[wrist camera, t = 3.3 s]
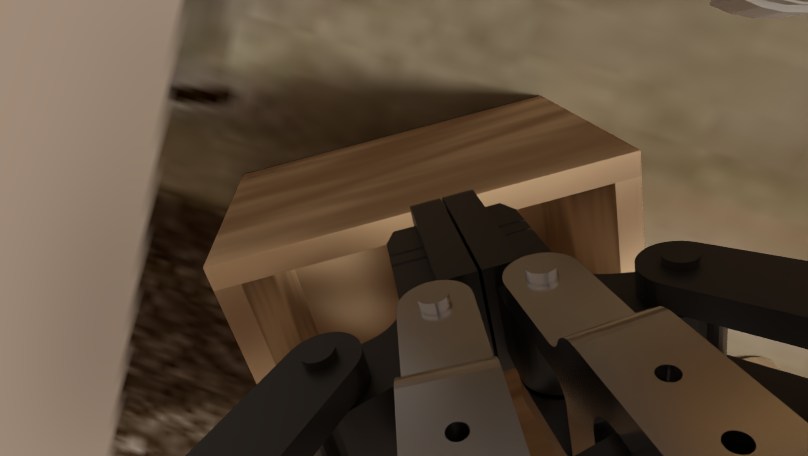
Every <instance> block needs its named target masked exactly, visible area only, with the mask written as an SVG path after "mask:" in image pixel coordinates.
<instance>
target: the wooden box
mask: <svg viewBox="0 0 808 456" xmlns="http://www.w3.org/2000/svg"><path fill="white" fill-rule="evenodd" d="M468 190H474V192H475V193H476V195H477V196H478V198H479V199H480V200H481V202H482V203H483V205H484V206H485V207H487V206H491V205H495V204H498V203H501V204H504V205H506V206H509V207H511V208H514V209H516V210H517V211H518V212H519V214H520V215H521V216H522V217H523V218H524V220H525V221H526V222H527V223H528V224H529V226H530V227H531V229H532V230H534V232H535V233H536V234H537V235H538V236H539V238H540V239H541V240H542V241H543V242H544V244H545V245H546V246H547V247H548V248H549V250H550V251H551V252H553V253H561V254H565V255H568V256H571V257H573V258H575V259H576V260H578V261H579V262H580V263H581V264H582V265H583V266H584V267H586V268H587V269H588V270H589V271H590V272H591V273H592V274H614V273H627V272H635V262H634V261H635V258H636V256H637V255H638V254H639V253H640V252H641V251H642V250H644V224H643V198H642V173H641V150H639V149H637V148H636V147H634V146H632V145H630V144H628V143H626V142H625V141H623V140H621V139H619V138H617V137H615V136H614V135H612V134H610V133H608V132H606V131H604V130H603V129H601V128H599V127H597V126H595V125H593V124H592V123H590V122H588V121H586V120H584V119H582V118H581V117H579V116H577V115H575V114H573V113H571V112H570V111H568V110H566V109H564V108H562V107H561V106H559V105H557V104H555V103H553V102H551V101H550V100H548V99H546V98H544V97H542V96H537V97H533V98H529V99H526V100H522V101H518V102H514V103H511V104H507V105H503V106H499V107H496V108H492V109H488V110H484V111H481V112H477V113H473V114H469V115H465V116H462V117H458V118H454V119H450V120H447V121H443V122H439V123H435V124H432V125H428V126H424V127H420V128H417V129H413V130H409V131H405V132H402V133H398V134H394V135H390V136H387V137H383V138H379V139H375V140H371V141H368V142H364V143H360V144H356V145H353V146H349V147H345V148H341V149H338V150H334V151H330V152H326V153H323V154H319V155H315V156H311V157H308V158H304V159H300V160H296V161H292V162H289V163H285V164H281V165H277V166H274V167H270V168H266V169H262V170H259V171H255V172H251V173H247V174H244V175H243V176H242V178H241V180H240V183H239V185H238V187H237V190H236V192H235V194H234V197H233V199H232V201H231V204H230V206H229V208H228V211H227V213H226V215H225V217H224V220H223V222H222V224H221V227H220V229H219V231H218V234H217V236H216V238H215V241H214V243H213V245H212V248H211V250H210V252H209V255H208V257H207V259H206V262H205V264H204V266H203V269H204V272H205V274H206V276H207V278H208V280H209V282H210V285H211V287H212V289H213V291H214V293H215V295H216V297H217V300H218V302H219V304H220V306H221V308H222V310H223V313H224V315H225V317H226V319H227V321H228V323H229V326H230V328H231V330H232V332H233V334H234V336H235V339H236V341H237V343H238V345H239V347H240V349H241V352H242V354H243V356H244V358H245V360H246V362H247V365H248V367H249V369H250V371H251V373H252V375H253V377H254V380H255V382H256V384H258V383H259V382H260V381H261V380H262V379H263V378H264V377H265V376H266V375H267V374H268V373H269V372H270V371H271V370H272V369H273V368H274V367H275V366H276V365H277V364H278V363H279V362H280V361H281V360H282V359H283V358H284V357H285V356H286V355H287V354H288V353H289V352H290V351H291V350H292V349H293V348H294V347H296V346H297V345H298V344H300V343H302V342H303V341H305V340H307V339H309V338H311V337H314V336H316V335H319V334H323V333H329V332H345V333H349V334H351V335H353V336H355V337H356V338H357V339H358V340H359V341H360V343H361V344H363V343H365V342H367V341H369V340H371V339H373V338H374V337H376V336H378V335H380V334H381V333H383V332H384V331H385V330H387V329H388V328H389V327H390V326H391V325H392V324H393V323H394V321H395V320H396V318H397V317H396V306H397V304H398V302H399V298H398V293H397V289H396V284H395V280H394V275H393V271H392V266H391V262H390V257H389V253H388V249H387V242H388V241H389V239H390V237H391V235H392V233H393V232H394V231H398V230H402V229H406V228H409V227H413V226H414V224H413V220H412V215H411V211H410V206H412V205H416V204H420V203H423V202H427V201H431V200H435V199H438V198H440V199H441V201H442V197H445V196H449V195H453V194H457V193H460V192H464V191H468ZM503 374H504V377H505V380H506V383H507V386H508V389H509V392H510V395H511V398H512V401H513V404H514V407H515V410H516V413H517V416H518V419H519V422H520V425H521V428H522V431H523V434H524V437H525V441H526V444H527V447H528V450H529V453H530V456H557V455H556V453H555V451H554V449H553V448H552V446H551V444H550V443H549V441H548V439H547V438H546V436H545V434H544V433H543V431H542V429H541V427H540V426H539V424H538V422H537V421H536V419H535V417H534V416H533V414H532V412H531V411H530V409H529V407H528V405H527V404H526V402H525V400H524V397H523V392H522V386H521V381H520V376H519V374H518V372H517V370H516V368H514V369H511V370H507V371H503ZM314 456H315V455H314Z"/></svg>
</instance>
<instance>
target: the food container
mask: <svg viewBox="0 0 808 456" xmlns="http://www.w3.org/2000/svg"><path fill="white" fill-rule="evenodd" d="M710 5H711V6H714V7H716V8H719V9H721V10H723V11H726V12H728V13H731V14H736V15H741V16H745V17H750V18H782V17H788V16H794V15H800V14H806V13H808V0H711V2H710Z"/></svg>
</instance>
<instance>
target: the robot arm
mask: <svg viewBox="0 0 808 456" xmlns="http://www.w3.org/2000/svg"><path fill="white" fill-rule="evenodd" d="M410 211H411V215H412V220H413V224H414V226H413V227H409V228H406V229H402V230H398V231H394V232H393V233H392V235H391V237H390V239H389V241H388V242H387V249H388V253H389V257H390V262H391V266H392V271H393V275H394V280H395V284H396V289H397V293H398V298H399V302H398V304H397V306H396V317H397V318H396V320H395V321H394V323H393V324H392V325H391V326H390V327H389V328H388V329H387V330H385V331H384V332H383V333H381V334H380V335H378V336H376V337H374V338H373V339H371V340H369V341H367V342H365V343H363V344H361V343H360V341H359V340H358V339H357V338H356V337H355V336H353V335H351V334H349V333H345V332H329V333H323V334H319V335H316V336H314V337H311V338H309V339H307V340H305V341H303V342H302V343H300V344H298V345H297V346H296V347H294V348H293V349H292V350H291V351H290V352H289V353H288V354H287V355H286V356H285V357H284V358H283V359H282V360H281V361H280V362H279V363H278V364H277V365H276V366H275V367H274V368H273V369H272V370H271V371H270V372H269V373H268V374H267V375H266V376H265V377H264V378H263V379H262V380H261V381H260V382H259V383H258V384H257V385H256V386H255V387H254V388H253V389H252V390H251V391H250V392H249V393H248V394H247V395H246V396H245V397H244V398H243V399H242V400H241V401H240V402H239V403H238V404H237V405H236V406H235V407H234V408H233V409H232V410H231V411H230V412H229V413H228V414H227V415H226V416H225V417H224V418H223V419H222V420H221V421H220V422H219V423H218V424H217V425H216V426H215V427H214V428H213V429H212V430H211V431H210V432H209V433H208V434H207V435H206V436H205V437H204V438H203V439H202V440H201V441H200V442H199V443H198V444H197V445H196V446H195V447H194V448H193V449H192V450H191V451H190V452H189V453H188V454H187V455H186V456H314V455H315V456H530V453H529V450H528V447H527V444H526V441H525V437H524V434H523V431H522V428H521V425H520V422H519V419H518V416H517V413H516V410H515V407H514V404H513V401H512V398H511V395H510V392H509V389H508V386H507V383H506V380H505V377H504V374H503V371H507V370H511V369H514V368H516V370H517V372H518V374H519V376H520V381H521V386H522V392H523V397H524V400H525V402H526V404H527V405H528V407H529V409H530V411H531V412H532V414H533V416H534V417H535V419H536V421H537V422H538V424H539V426H540V427H541V429H542V431H543V433H544V434H545V436H546V438H547V439H548V441H549V443H550V444H551V446H552V448H553V449H554V451H555V453H556V455H557V456H808V378H804V377H801V376H798V375H794V374H791V373H787V372H784V371H781V370H777V369H774V368H770V367H767V366H764V365H760V364H757V363H753V362H750V361H747V360H743V359H740V358H736V357H733V356H730V355H727V333H728V328H729V329H733V330H737V331H741V332H744V333H748V334H752V335H756V336H760V337H763V338H767V339H771V340H775V341H779V342H782V343H786V344H790V345H794V346H798V347H801V348H805V349H808V261H804V260H798V259H792V258H787V257H781V256H775V255H769V254H763V253H757V252H751V251H745V250H739V249H733V248H728V247H722V246H716V245H710V244H704V243H698V242H691V241H670V242H663V243H658V244H655V245H652V246H649V247H647V248H645V249H644V250H642V251H641V252H640V253H639V254H638V255H637V256H636V258H635V261H634V262H635V272H627V273H614V274H592V273H591V272H590V271H589V270H588V269H587V268H586V267H584V266H583V265H582V264H581V263H580V262H579V261H578V260H576V259H575V258H573V257H571V256H568V255H565V254H561V253H553V252H551V251H550V250H549V248H548V247H547V246H546V245H545V244H544V242H543V241H542V240H541V239H540V238H539V236H538V235H537V234H536V233H535V232H534V230H532V229H531V227H530V226H529V224H528V223H527V222H526V221H525V220H524V218H523V217H522V216H521V215H520V214H519V212H518V211H517V210H516V209H514V208H511V207H509V206H506V205H504V204H501V203H498V204H495V205H491V206H487V207H485V206H484V205H483V203H482V202H481V200H480V199H479V198H478V196H477V195H476V193H475V192H474V190H468V191H464V192H460V193H457V194H453V195H449V196H445V197H442V201H441V199H440V198H438V199H435V200H431V201H427V202H423V203H420V204H416V205H412V206H410Z"/></svg>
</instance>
